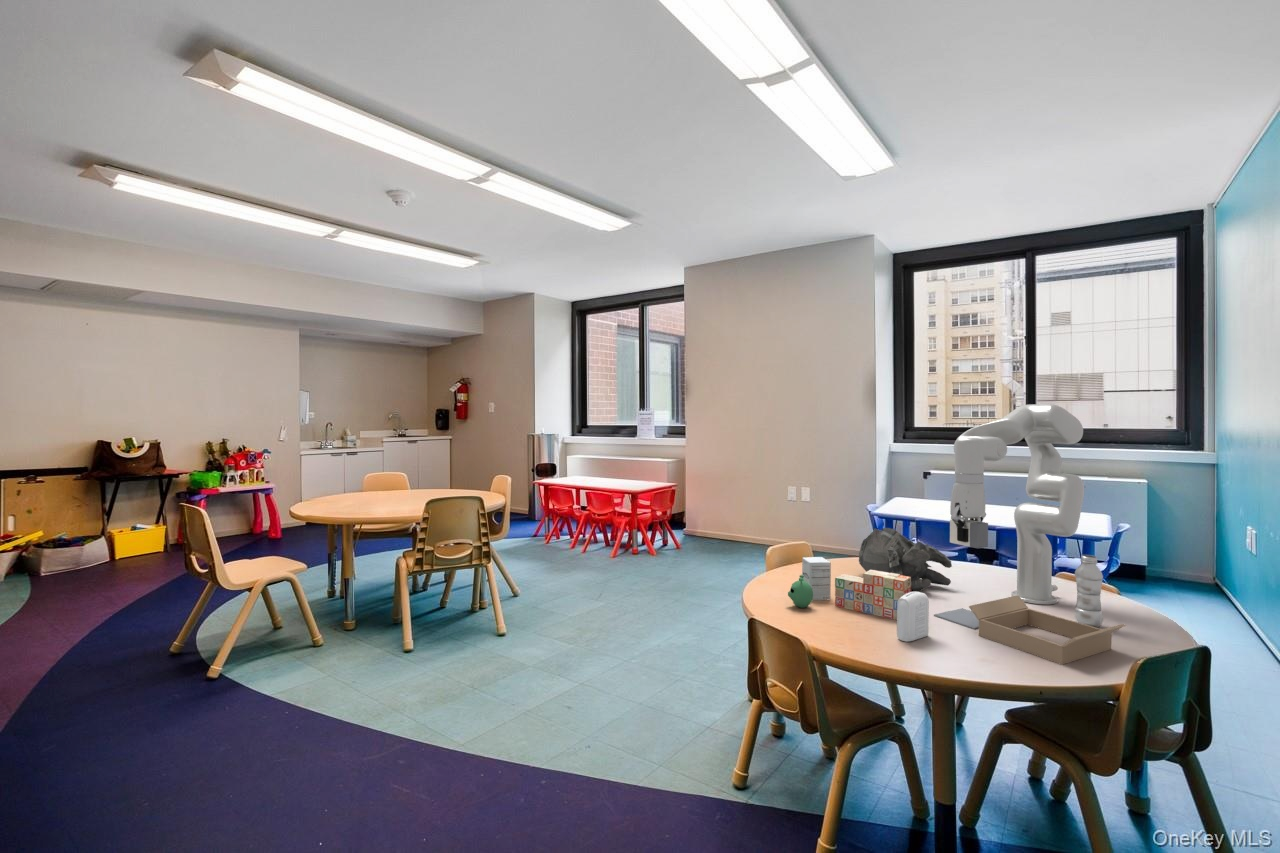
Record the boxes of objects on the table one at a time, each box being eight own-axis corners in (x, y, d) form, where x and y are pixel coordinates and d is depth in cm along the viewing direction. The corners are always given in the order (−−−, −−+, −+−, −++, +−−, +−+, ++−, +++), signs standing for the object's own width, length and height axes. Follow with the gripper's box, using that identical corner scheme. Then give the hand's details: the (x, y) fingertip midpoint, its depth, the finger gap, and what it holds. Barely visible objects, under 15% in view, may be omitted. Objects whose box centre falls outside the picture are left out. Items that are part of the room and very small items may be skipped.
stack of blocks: (834, 606, 193) (834, 568, 193) (842, 602, 198) (842, 564, 198) (903, 621, 179) (904, 580, 179) (911, 616, 184) (911, 576, 183)
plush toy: (958, 594, 206) (959, 536, 206) (881, 593, 206) (882, 536, 206) (922, 572, 233) (922, 521, 233) (854, 572, 234) (854, 521, 233)
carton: (1016, 620, 180) (1016, 594, 179) (1124, 653, 155) (1125, 623, 155) (968, 632, 170) (968, 605, 170) (1075, 669, 145) (1075, 637, 145)
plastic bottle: (1095, 630, 171) (1096, 560, 170) (1069, 623, 177) (1070, 555, 176) (1107, 627, 174) (1108, 557, 173) (1081, 619, 180) (1082, 552, 179)
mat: (962, 609, 190) (962, 608, 190) (1003, 622, 178) (1003, 620, 178) (933, 615, 184) (933, 614, 184) (973, 629, 172) (973, 628, 172)
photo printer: (916, 631, 171) (916, 587, 171) (931, 635, 167) (931, 591, 167) (894, 638, 165) (894, 593, 165) (908, 643, 162) (909, 597, 161)
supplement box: (801, 594, 206) (801, 557, 206) (822, 593, 207) (822, 556, 207) (809, 600, 199) (809, 562, 199) (831, 600, 200) (831, 561, 199)
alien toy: (788, 602, 197) (788, 572, 197) (813, 604, 195) (813, 573, 194) (787, 609, 190) (787, 577, 190) (812, 611, 188) (812, 579, 188)
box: (959, 541, 185) (959, 518, 185) (987, 546, 177) (988, 522, 177) (949, 542, 183) (949, 519, 183) (977, 548, 175) (978, 524, 175)
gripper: (975, 476, 187) (975, 535, 187) (938, 479, 180) (938, 541, 180) (999, 479, 180) (999, 540, 181) (961, 482, 173) (961, 545, 173)
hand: (968, 540), depth 180 cm, fingers closed on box, 4 cm apart
